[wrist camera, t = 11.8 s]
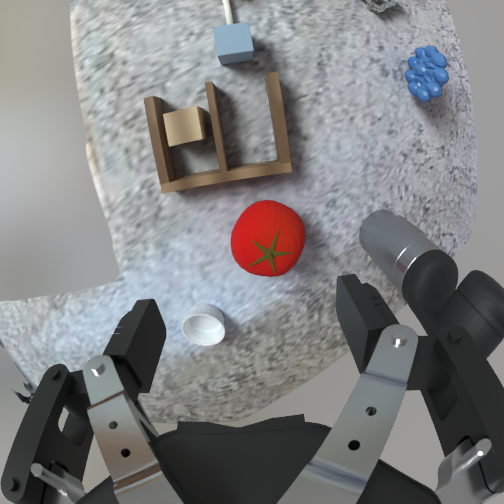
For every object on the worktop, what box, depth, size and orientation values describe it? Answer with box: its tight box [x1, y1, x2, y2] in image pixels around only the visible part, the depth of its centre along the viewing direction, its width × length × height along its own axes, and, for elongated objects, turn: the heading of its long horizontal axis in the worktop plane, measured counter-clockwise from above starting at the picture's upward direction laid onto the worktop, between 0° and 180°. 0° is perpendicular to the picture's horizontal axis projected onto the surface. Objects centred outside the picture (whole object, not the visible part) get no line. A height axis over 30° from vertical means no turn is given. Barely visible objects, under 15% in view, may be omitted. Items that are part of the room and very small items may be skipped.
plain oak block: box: [163, 106, 208, 147], centre depth 38 cm, size 5×5×6 cm
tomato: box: [231, 200, 305, 277], centre depth 44 cm, size 11×12×10 cm
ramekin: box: [182, 304, 225, 346], centre depth 55 cm, size 9×9×4 cm
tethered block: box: [213, 0, 254, 65], centre depth 29 cm, size 5×17×6 cm, turn 8°
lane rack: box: [144, 72, 292, 193], centre depth 39 cm, size 20×16×4 cm
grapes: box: [405, 45, 449, 102], centre depth 30 cm, size 12×7×12 cm, turn 168°
